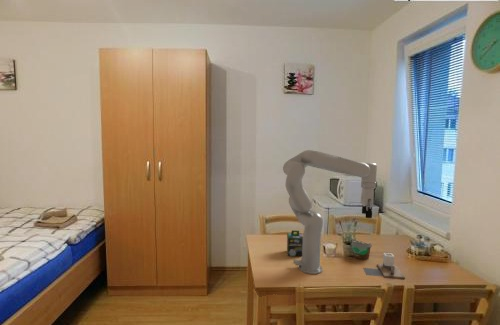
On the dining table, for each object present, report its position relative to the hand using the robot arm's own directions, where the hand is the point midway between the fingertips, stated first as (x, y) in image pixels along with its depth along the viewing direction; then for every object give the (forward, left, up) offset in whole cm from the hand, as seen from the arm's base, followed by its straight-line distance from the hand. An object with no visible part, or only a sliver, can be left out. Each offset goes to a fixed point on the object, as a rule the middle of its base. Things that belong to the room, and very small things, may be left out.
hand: (366, 215), depth 172 cm
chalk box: (-39, +9, -29) cm, 49 cm away
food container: (-1, +10, -28) cm, 30 cm away
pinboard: (+12, -7, -28) cm, 32 cm away
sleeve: (+12, -3, -27) cm, 30 cm away
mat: (+3, -9, -28) cm, 30 cm away
